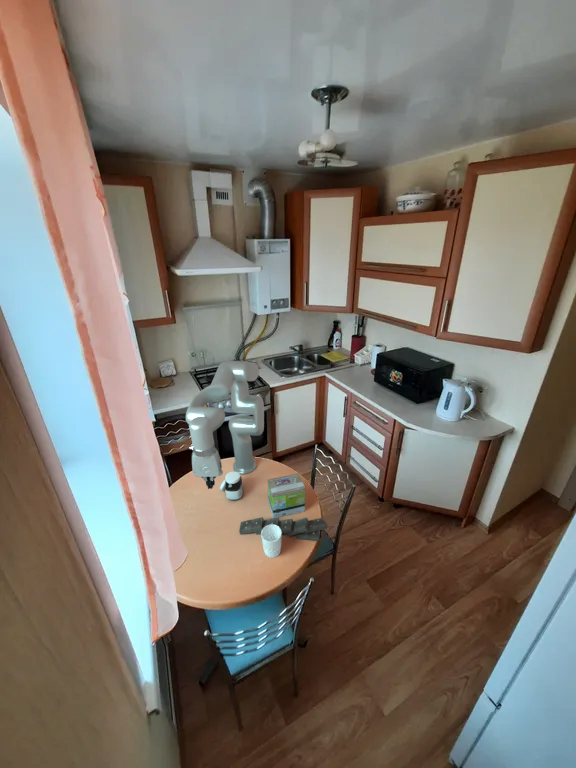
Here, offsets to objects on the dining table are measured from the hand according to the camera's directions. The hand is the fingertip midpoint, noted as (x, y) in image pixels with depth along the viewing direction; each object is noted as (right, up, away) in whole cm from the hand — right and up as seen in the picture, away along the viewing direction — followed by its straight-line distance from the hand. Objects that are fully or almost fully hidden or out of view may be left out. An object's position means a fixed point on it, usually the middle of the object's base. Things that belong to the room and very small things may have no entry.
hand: (210, 486), depth 123 cm
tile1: (+17, -21, +11) cm, 29 cm away
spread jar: (+3, -13, +30) cm, 33 cm away
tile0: (+10, -21, +11) cm, 26 cm away
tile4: (+37, -20, +8) cm, 42 cm away
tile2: (+23, -22, +10) cm, 33 cm away
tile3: (+30, -22, +9) cm, 38 cm away
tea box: (+30, -17, +22) cm, 40 cm away
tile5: (+34, -22, +9) cm, 41 cm away
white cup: (+24, -26, +2) cm, 36 cm away
